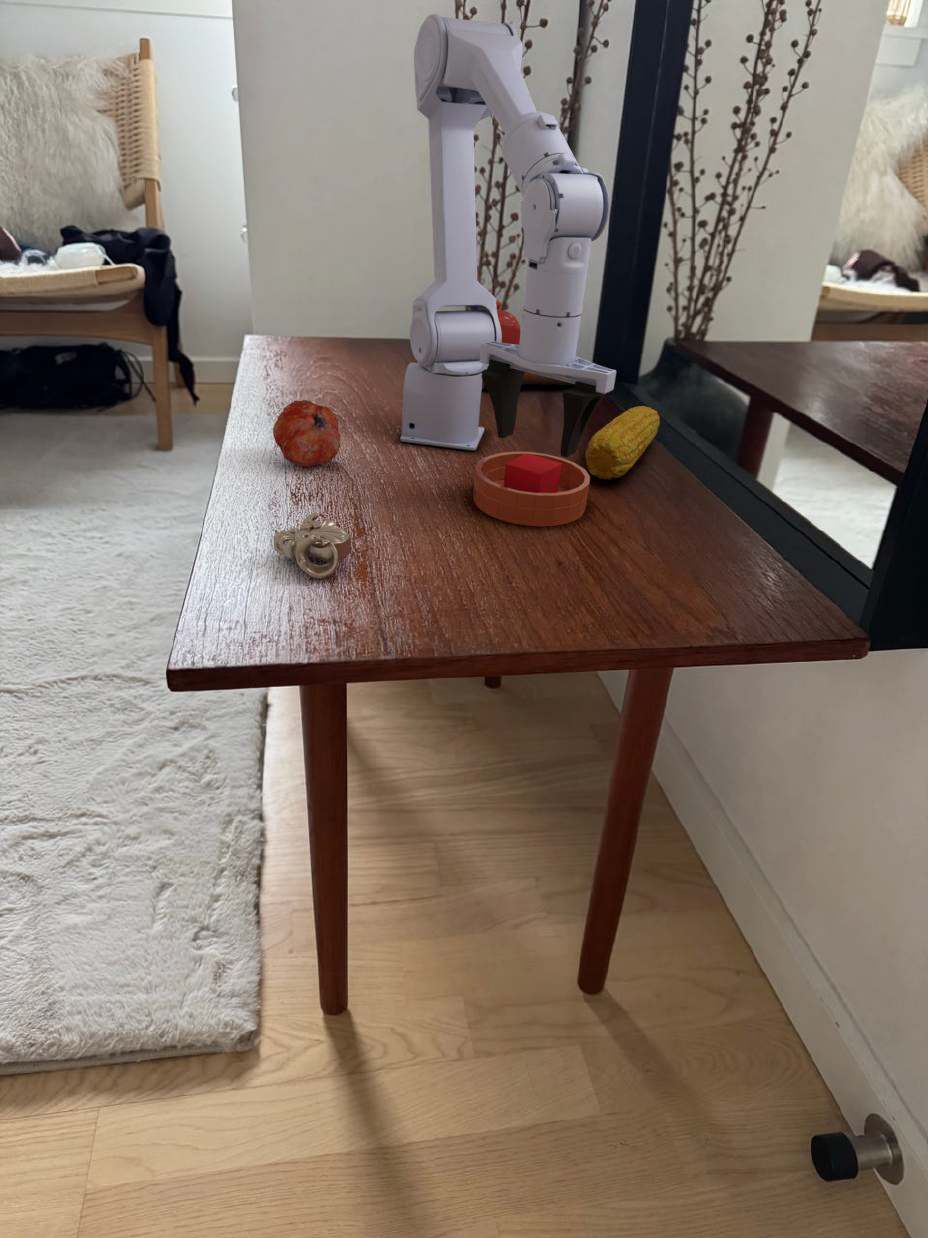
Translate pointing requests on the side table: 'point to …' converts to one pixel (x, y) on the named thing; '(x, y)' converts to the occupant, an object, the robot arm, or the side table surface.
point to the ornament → (314, 545)
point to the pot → (530, 493)
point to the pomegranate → (307, 433)
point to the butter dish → (508, 326)
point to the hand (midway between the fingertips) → (536, 444)
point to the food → (621, 442)
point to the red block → (532, 474)
